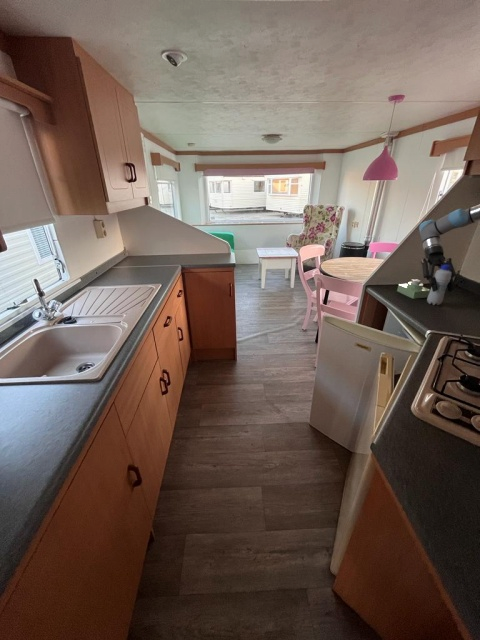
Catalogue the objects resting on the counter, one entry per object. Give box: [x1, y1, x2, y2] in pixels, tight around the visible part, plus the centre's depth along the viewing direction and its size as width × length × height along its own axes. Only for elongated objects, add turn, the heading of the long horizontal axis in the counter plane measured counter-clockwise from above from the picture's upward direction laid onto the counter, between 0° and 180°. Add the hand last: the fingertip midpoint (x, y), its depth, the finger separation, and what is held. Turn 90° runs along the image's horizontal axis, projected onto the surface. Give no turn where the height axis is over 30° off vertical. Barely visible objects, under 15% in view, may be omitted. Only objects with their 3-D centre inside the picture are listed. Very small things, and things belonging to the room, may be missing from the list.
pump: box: [410, 278, 422, 285], centre depth 143 cm, size 4×4×2 cm
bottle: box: [426, 265, 452, 306], centre depth 129 cm, size 7×7×20 cm
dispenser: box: [396, 281, 431, 300], centre depth 145 cm, size 12×10×6 cm
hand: (443, 290), depth 127 cm, fingers closed on bottle, 7 cm apart
